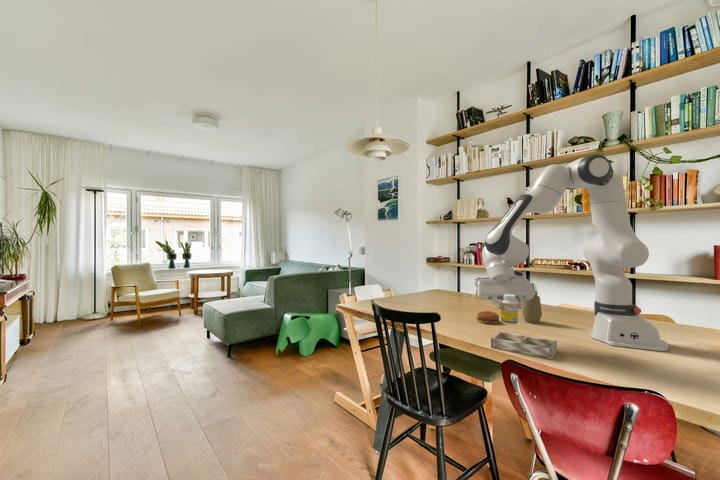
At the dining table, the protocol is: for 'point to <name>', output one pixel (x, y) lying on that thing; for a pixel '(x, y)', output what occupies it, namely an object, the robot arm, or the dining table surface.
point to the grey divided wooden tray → (524, 344)
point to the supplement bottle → (509, 310)
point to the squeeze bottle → (532, 308)
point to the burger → (488, 317)
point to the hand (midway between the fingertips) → (510, 308)
